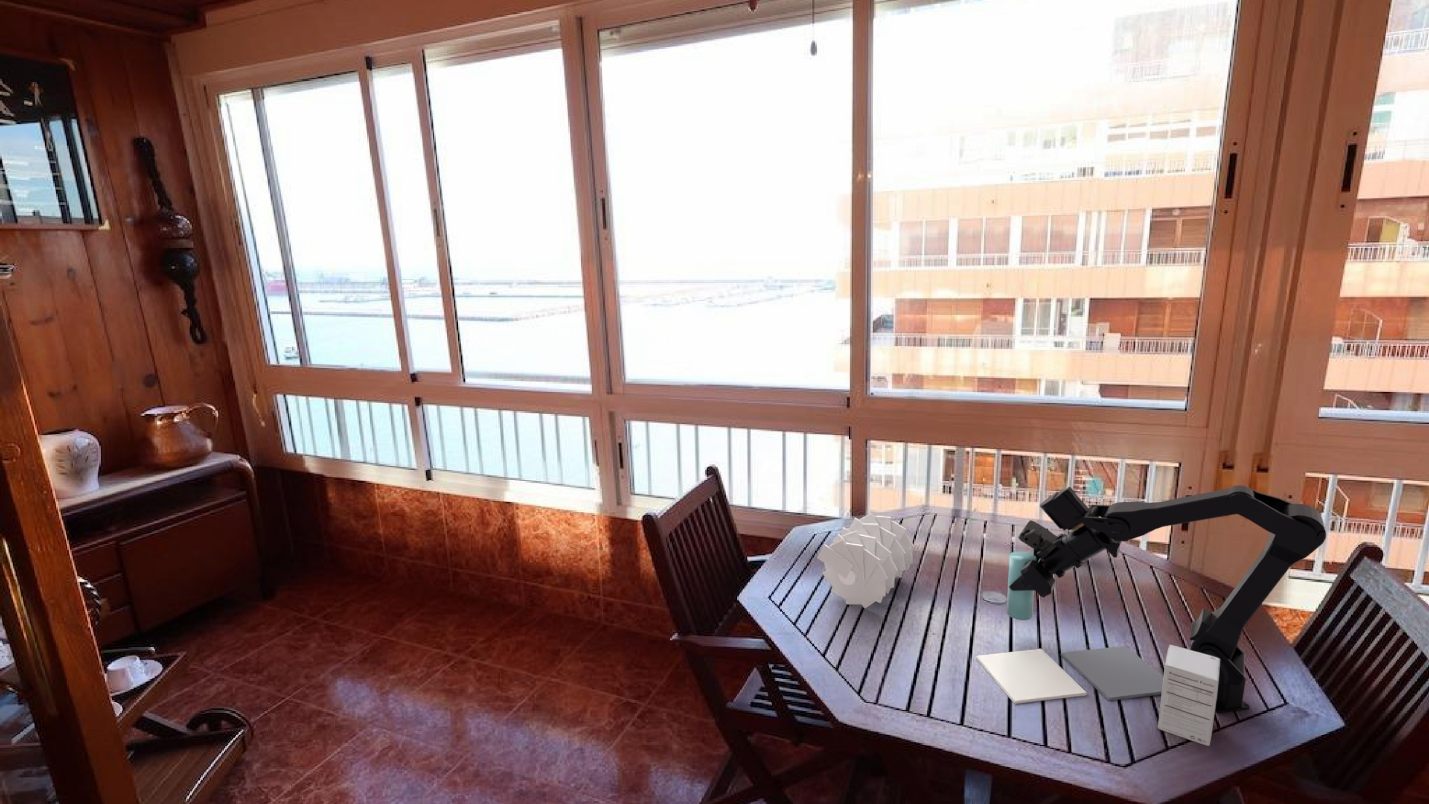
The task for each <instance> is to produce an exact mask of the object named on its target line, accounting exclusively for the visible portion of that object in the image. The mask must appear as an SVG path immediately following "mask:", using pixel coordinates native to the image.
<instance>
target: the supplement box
mask: <svg viewBox="0 0 1429 804" xmlns="http://www.w3.org/2000/svg"><path fill="white" fill-rule="evenodd" d="M1219 670H1220V659H1219V658H1217V657H1213V656H1210V655H1207V654H1203V653H1199V652H1195V651H1192V650H1191V649H1189V648H1184V647H1181V646H1176V645H1173V644H1168V649H1167V651H1166V657H1165V664H1164V671H1163V676H1164V678H1163V687H1162V694H1160V695H1161V696H1160V706H1159V716H1158V722H1157V724H1158V725H1157V728H1158V729H1159V730H1160V731H1163V732H1166V733H1169V734H1172V735H1175V736H1178V737H1181V738H1183V739H1185V740H1186V739H1187V740H1189V741H1192V742H1194V743H1198V744H1201V745H1204V746H1207V747H1210V745H1211V740H1212V734H1213V726H1214V719H1215V712H1216V711H1215V706H1216V699H1217V691H1218V682H1219Z"/></svg>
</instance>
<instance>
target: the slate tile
mask: <svg viewBox="0 0 1429 804" xmlns="http://www.w3.org/2000/svg"><path fill="white" fill-rule="evenodd" d="M1060 656H1061V658H1063V659H1064V661H1066V662H1067V663H1068V664H1069V665H1070V666H1071V667H1072V668H1074V669H1075V670H1076V671H1077V672H1078V674H1079V675H1081V676H1082V677H1083V678H1084V679H1085V680H1086V681H1087V682H1088V683H1090V684H1091V685H1092V686H1093V687H1094V688H1095V689H1096V691H1098V692H1099V693H1100V694H1102V696H1103V697H1104V698H1105V699H1107V700H1108V701H1115V700H1125V699H1126V700H1127V699H1132V698H1133V699H1134V698H1141V697H1149V696H1150V697H1151V696H1158V695H1162V687H1163V678H1164V675H1162V674H1161V673H1160V672H1159V671H1158V670H1156V669H1155V668H1154V667H1152V666H1151V665H1150V664H1149V663H1147V662H1146V660H1144V659H1142V657H1140V656H1138V655H1137V654H1136V653H1135V652H1134V651H1133V650H1131V649H1130V648H1129V647H1127V646H1126V645H1121V646H1120V645H1119V646H1113V647H1111V646H1110V647H1104V648H1103V647H1101V648H1094V649H1092V648H1091V649H1085V650H1084V649H1083V650H1075V651H1065V652H1061V653H1060Z"/></svg>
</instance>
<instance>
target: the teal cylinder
mask: <svg viewBox="0 0 1429 804" xmlns="http://www.w3.org/2000/svg"><path fill="white" fill-rule="evenodd" d="M1031 560H1034V561H1036V557H1035V556H1034V553H1031V552H1027V551H1012V552H1011V553H1010V554H1009V561H1008V579H1007V596H1006V597H1007V598H1006V614H1007V615H1008V616H1009V617H1010V618H1012V619H1014V620H1019V621H1029V620H1031V619H1032V618H1033V616H1034V600H1035V599H1034V597H1035V591H1012V590H1011V589H1010V588H1009V586H1010V585H1011V584H1012V583H1013V582H1014V581H1015V580H1016V579H1017V578H1018V577H1019V576H1021V575H1022V574H1021V569H1022V568H1023V566H1024V564H1025V563H1026V562H1027V563H1028V562H1030V561H1031Z"/></svg>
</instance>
